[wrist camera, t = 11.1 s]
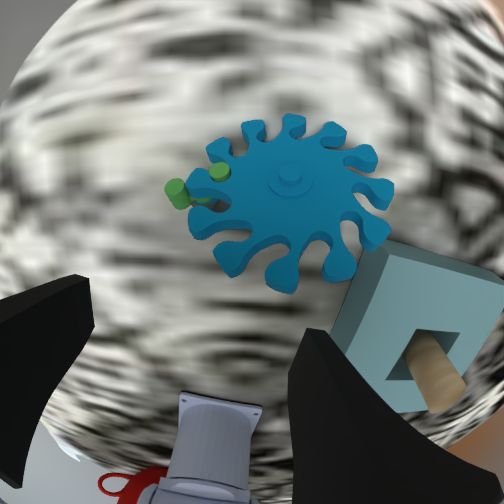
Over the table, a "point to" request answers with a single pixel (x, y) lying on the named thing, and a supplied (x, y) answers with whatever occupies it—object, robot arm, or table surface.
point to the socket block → (413, 315)
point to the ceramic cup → (134, 484)
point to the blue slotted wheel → (285, 199)
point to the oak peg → (433, 371)
